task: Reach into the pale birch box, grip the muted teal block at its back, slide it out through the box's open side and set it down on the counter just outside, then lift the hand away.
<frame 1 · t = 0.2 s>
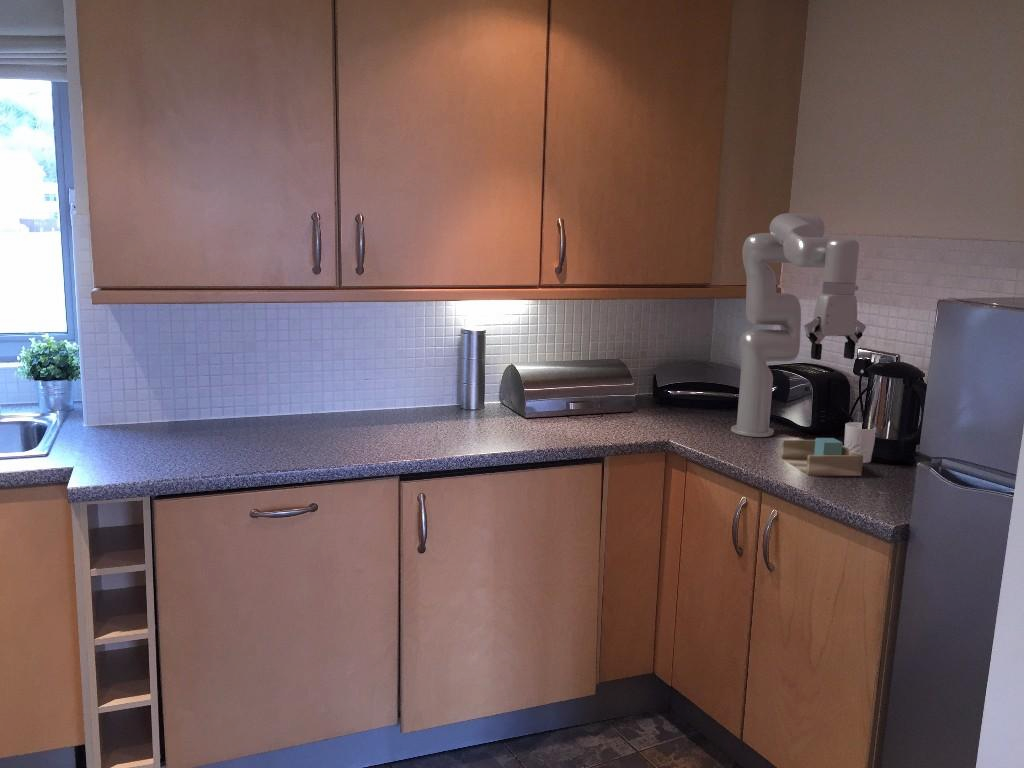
hand: (832, 358, 218), 30 cm above the worktop, tool pointing down, fingers open, 9 cm apart
birch box: (819, 468, 230), on the worktop
white cup: (857, 462, 238), on the worktop
teal block: (826, 466, 230), resting on birch box
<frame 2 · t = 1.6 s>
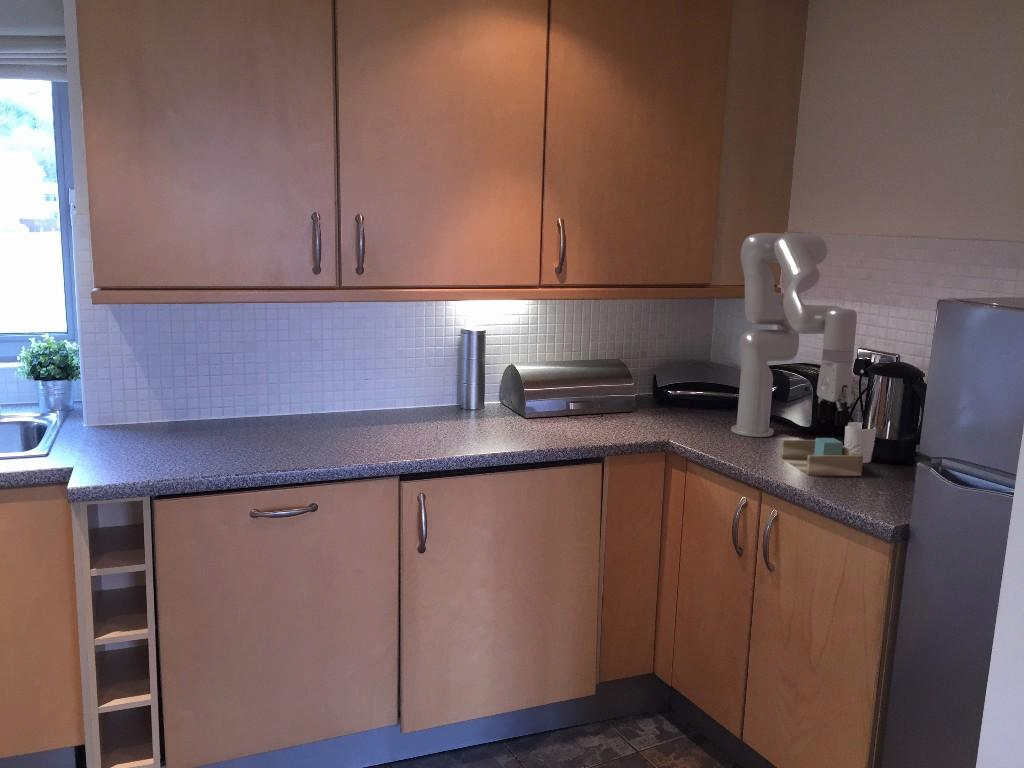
hand: (832, 422, 227), 13 cm above the worktop, tool pointing down, fingers open, 9 cm apart
nothing on the worktop moved.
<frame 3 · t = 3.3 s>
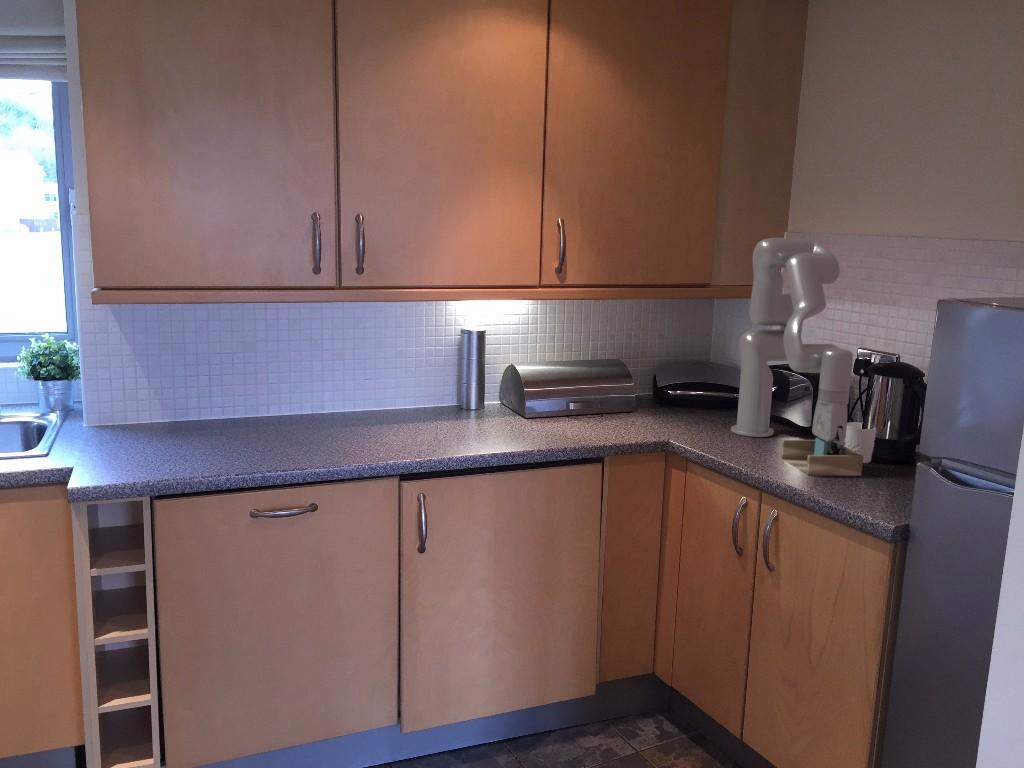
hand: (826, 463, 230), 1 cm above the worktop, tool pointing down, fingers closed on teal block, 5 cm apart
teal block: (826, 466, 230), point 1 cm above the worktop, touching birch box, gripper
everything else where it was.
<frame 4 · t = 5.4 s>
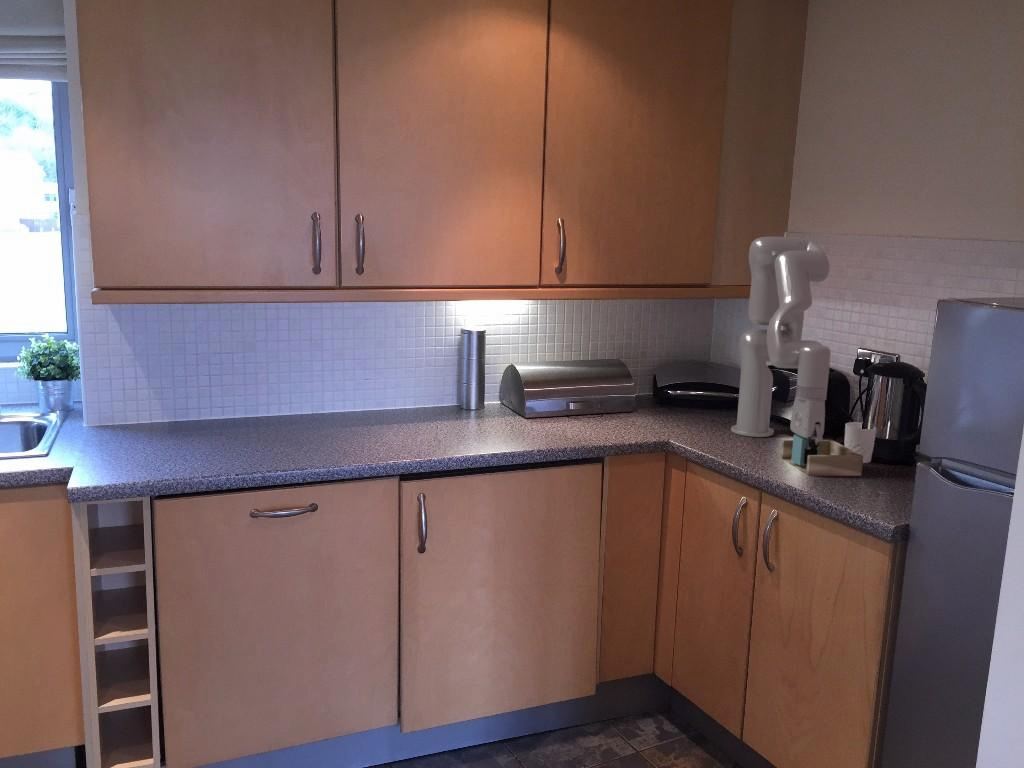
hand: (804, 460, 229), 2 cm above the worktop, tool pointing down, fingers closed on teal block, 5 cm apart
teal block: (804, 462, 229), point 1 cm above the worktop, touching gripper
everything else where it was.
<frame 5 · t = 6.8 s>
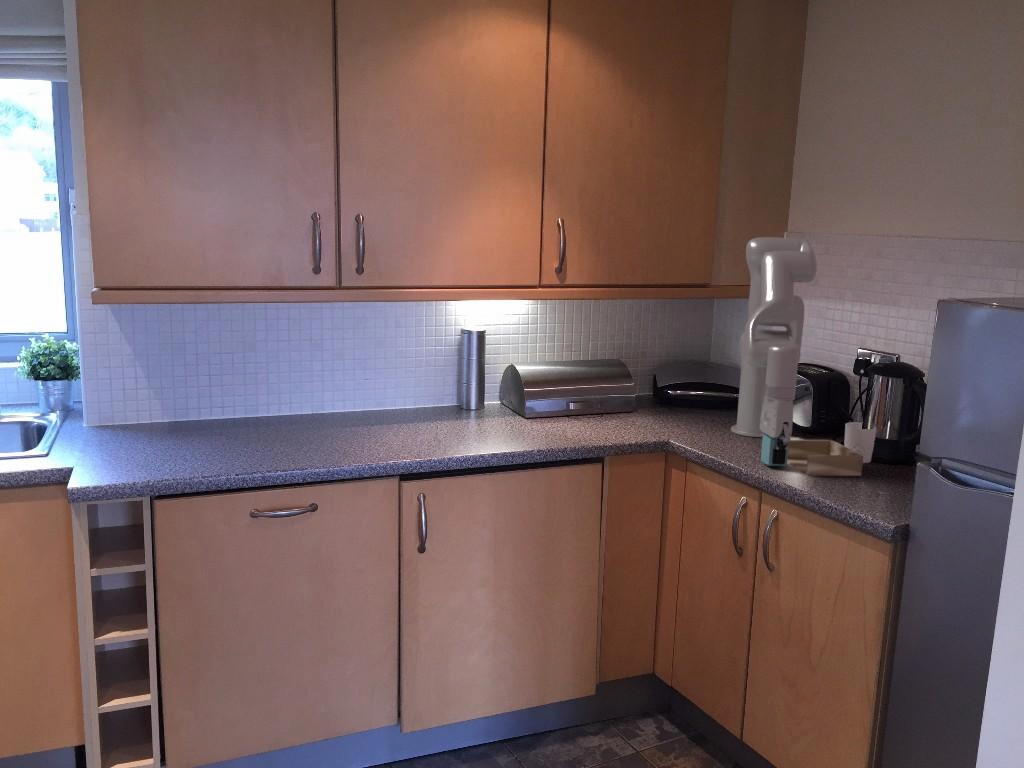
hand: (773, 460, 228), 2 cm above the worktop, tool pointing down, fingers closed on teal block, 5 cm apart
teal block: (773, 462, 228), point 1 cm above the worktop, touching gripper
everything else where it was.
when the fingers open (2 cm above the worktop, at t = 7.7 s): teal block stays where it is, on the worktop.
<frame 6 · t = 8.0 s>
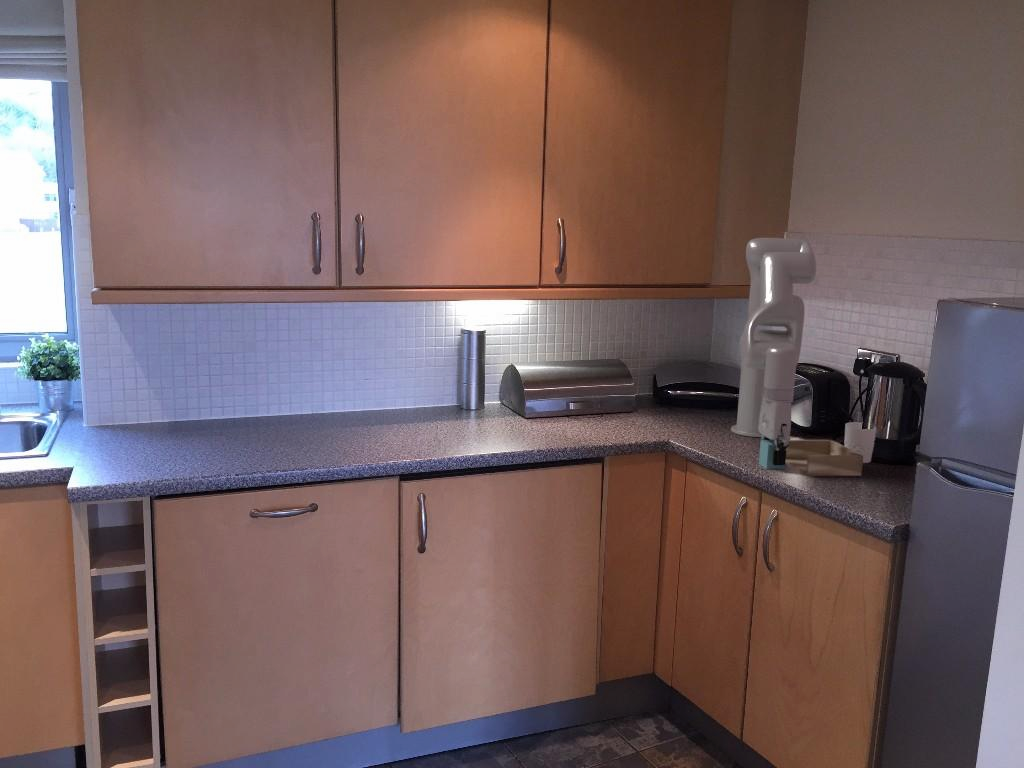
hand: (772, 460, 228), 2 cm above the worktop, tool pointing down, fingers open, 7 cm apart
teal block: (771, 468, 228), on the worktop
everything else where it was.
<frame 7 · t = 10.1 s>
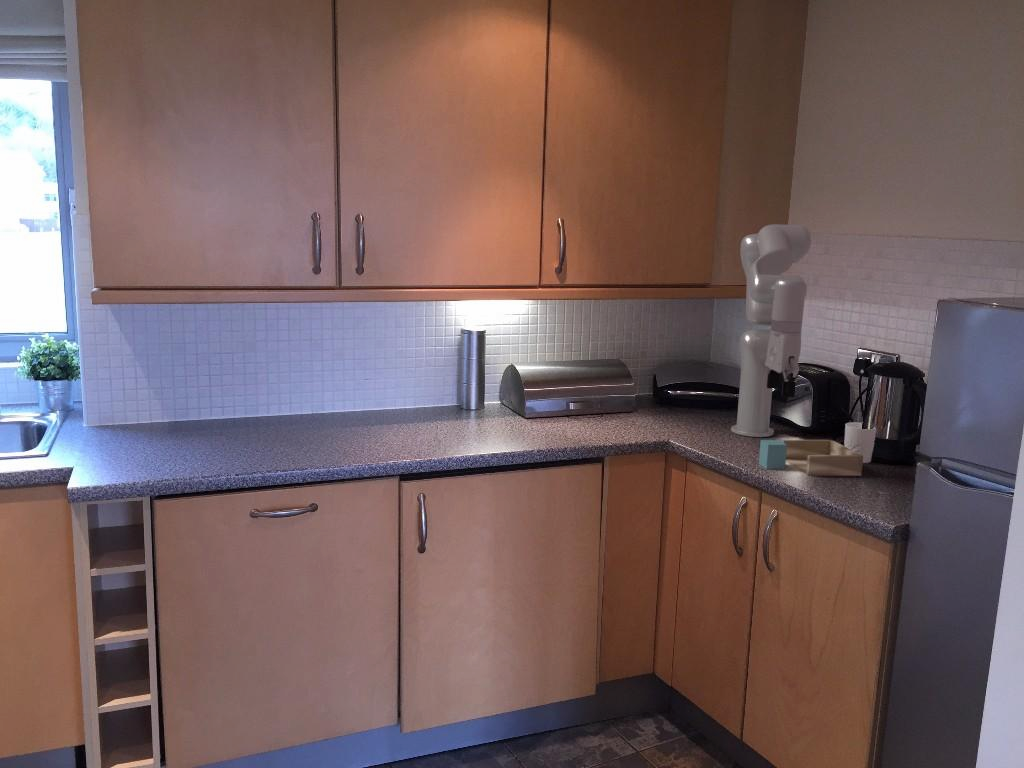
hand: (780, 392, 228), 20 cm above the worktop, tool pointing down, fingers open, 9 cm apart
nothing on the worktop moved.
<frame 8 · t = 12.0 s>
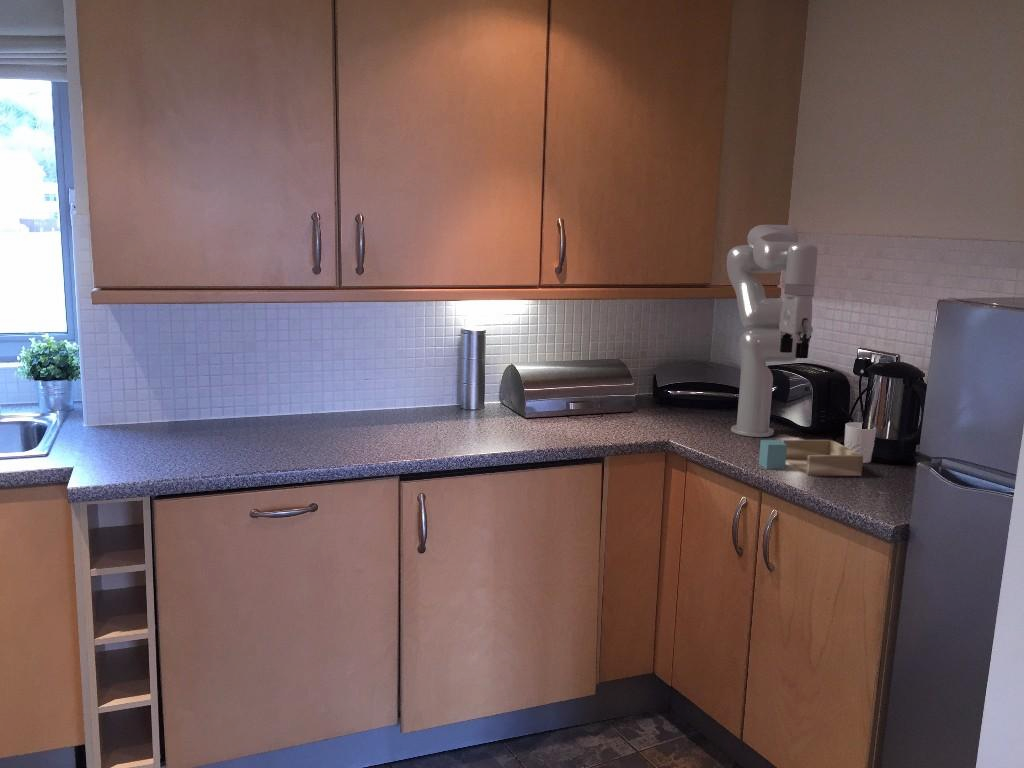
hand: (793, 355, 234), 28 cm above the worktop, tool pointing down, fingers open, 9 cm apart
nothing on the worktop moved.
at the end: teal block inside the target area (0.1 cm from its centre), on the worktop; teal block tilted 0°; the gripper is holding nothing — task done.
